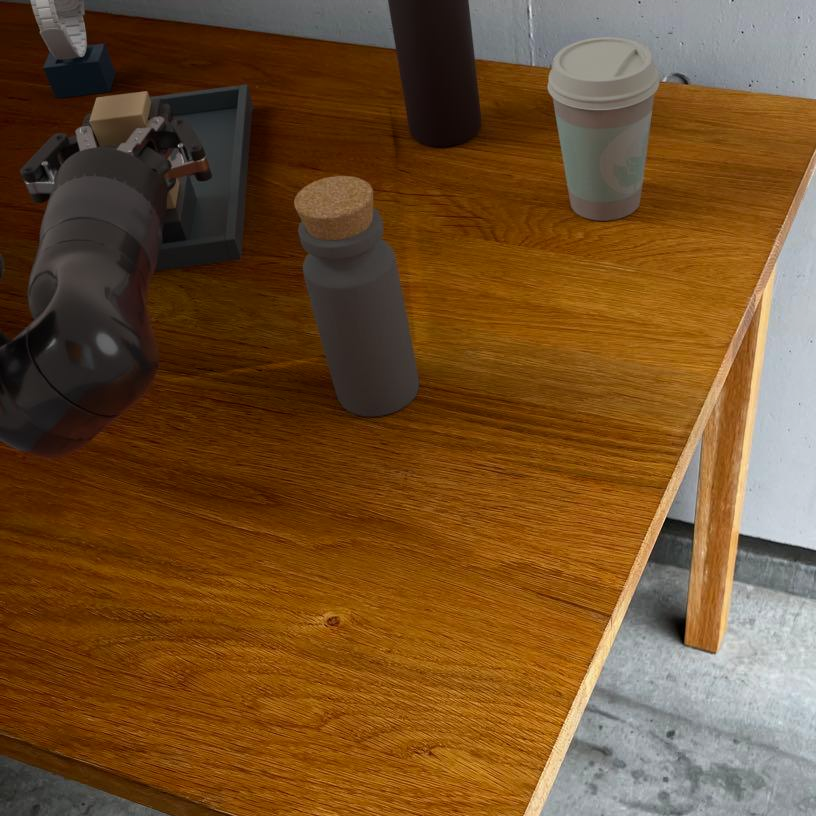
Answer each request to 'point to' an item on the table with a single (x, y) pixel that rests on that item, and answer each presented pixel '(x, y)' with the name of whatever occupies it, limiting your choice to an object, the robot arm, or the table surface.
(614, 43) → the coffee cup
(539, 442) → the table surface
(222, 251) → the tray
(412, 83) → the vinegar
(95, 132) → the stamp
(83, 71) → the watch
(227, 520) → the table surface
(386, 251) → the bottle
